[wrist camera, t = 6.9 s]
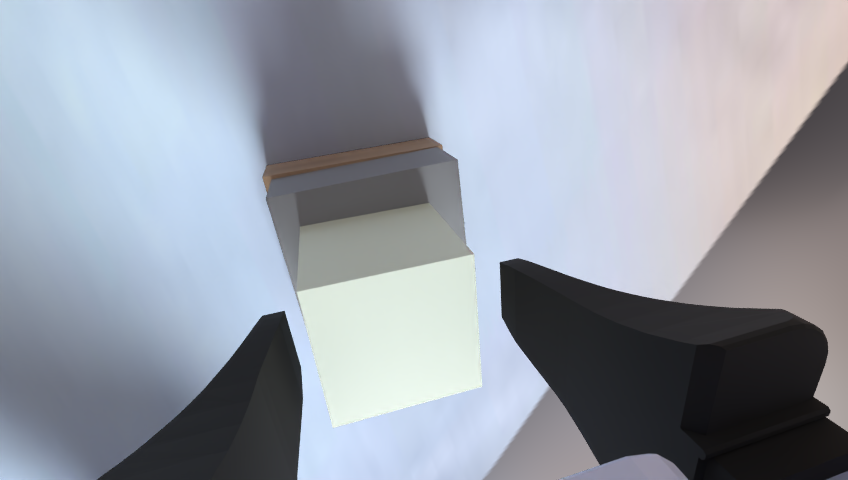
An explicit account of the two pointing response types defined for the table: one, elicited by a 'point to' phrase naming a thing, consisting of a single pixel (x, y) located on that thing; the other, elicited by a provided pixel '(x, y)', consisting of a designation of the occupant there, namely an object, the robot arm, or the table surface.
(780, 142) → the table surface
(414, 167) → the grey flat block
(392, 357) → the sage block
